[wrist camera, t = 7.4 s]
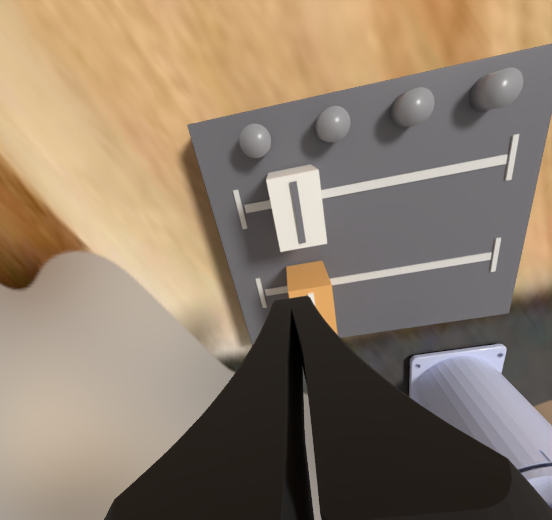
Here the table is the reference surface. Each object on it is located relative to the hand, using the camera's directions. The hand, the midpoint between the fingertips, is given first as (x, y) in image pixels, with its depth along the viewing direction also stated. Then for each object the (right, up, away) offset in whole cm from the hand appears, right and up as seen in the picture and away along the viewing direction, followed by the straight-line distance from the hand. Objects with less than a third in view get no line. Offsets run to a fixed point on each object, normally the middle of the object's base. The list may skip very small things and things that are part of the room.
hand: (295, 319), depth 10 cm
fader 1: (0, +6, +6) cm, 8 cm away
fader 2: (+1, 0, +8) cm, 8 cm away
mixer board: (+5, +5, +8) cm, 11 cm away
